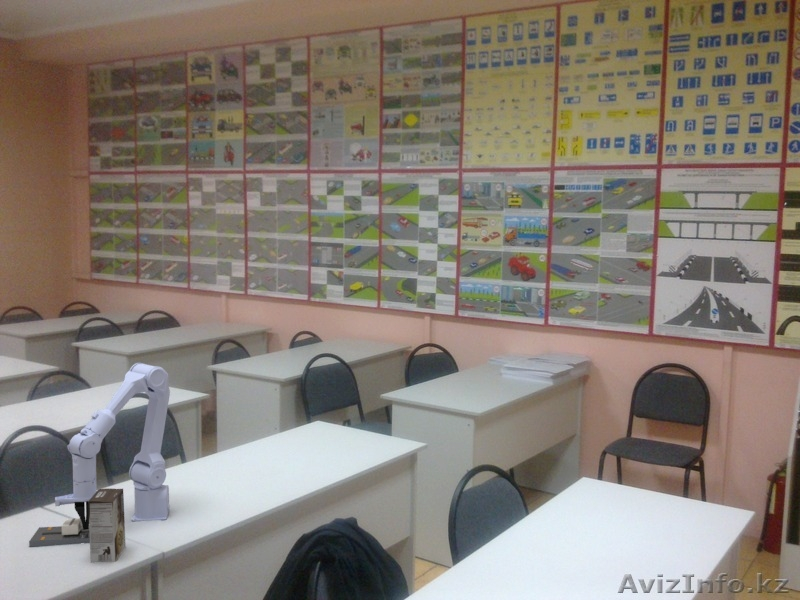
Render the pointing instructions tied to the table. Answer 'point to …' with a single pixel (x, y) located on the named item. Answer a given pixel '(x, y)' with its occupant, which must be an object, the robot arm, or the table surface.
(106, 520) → the coffee box
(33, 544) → the fader panel
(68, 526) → the fader knob
